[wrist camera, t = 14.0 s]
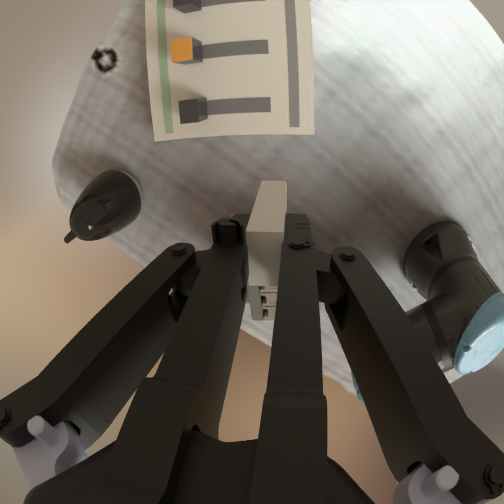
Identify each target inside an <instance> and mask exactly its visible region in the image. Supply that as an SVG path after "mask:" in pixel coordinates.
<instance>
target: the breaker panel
mask: <svg viewBox="0 0 504 504" xmlns="http://www.w3.org/2000/svg"><path fill="white" fill-rule="evenodd" d="M145 30H146V53H147V69H148V82H149V94H150V104H151V114H152V122H153V131H154V139H155V142H157V141H165V140H174V139H184V138H196V137H210V136H227V135H256V134H294V135H314V69H313V43H312V25H311V10H310V0H145ZM189 36H190V37H193V38H195V39H197V40H199V41H201V42H202V56H203V62H200V63H193V64H187V65H184V64H178V63H172V56H171V40H173V39H178V38H184V37H189Z"/></svg>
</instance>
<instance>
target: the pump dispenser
mask: <svg viewBox="0 0 504 504" xmlns="http://www.w3.org/2000/svg"><path fill="white" fill-rule="evenodd" d="M141 205H142V190H141V187H140V185H139V183H138V182H137V180H136V179H135V178H134V177H133V176H132V175H130V174H129V173H127V172H124V171H118V170H108V171H105V172H103V173H101V174H100V175H98V176H97V177H96V178H95V179H93V180H92V181H91V182H90V183H89V184H88V185H87V187H86V188H85V189H84V190H83V192H82V193H81V194H80V196H79V197H78V199H77V200H76V202H75V204H74V206H73V208H72V211H71V214H70V228H71V231H70V232H69V233H68V234H67V236H66V237H65V238H64V241H65V242H66V243H69V242H70V241H71V240H73V239H74V238H75V237H78V238H79V239H81V240H85V241H94V240H99V239H102V238H105V237H108V236H110V235H112V234H114V233H117V232H118V231H120V230H122V229H124V228H125V227H127V226H128V225H130V224H131V223H132V222H133V221H134V220H135V219H136V218H137V217H138V215H139V213H140V210H141Z"/></svg>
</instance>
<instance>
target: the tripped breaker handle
mask: <svg viewBox="0 0 504 504" xmlns="http://www.w3.org/2000/svg"><path fill="white" fill-rule="evenodd" d="M171 56H172V63H178V64H184V65H187V64H193V63H200V62H203V56H202V42H201V41H199V40H197V39H195V38H193V37H190V36H189V37H184V38H178V39H173V40H171Z"/></svg>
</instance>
